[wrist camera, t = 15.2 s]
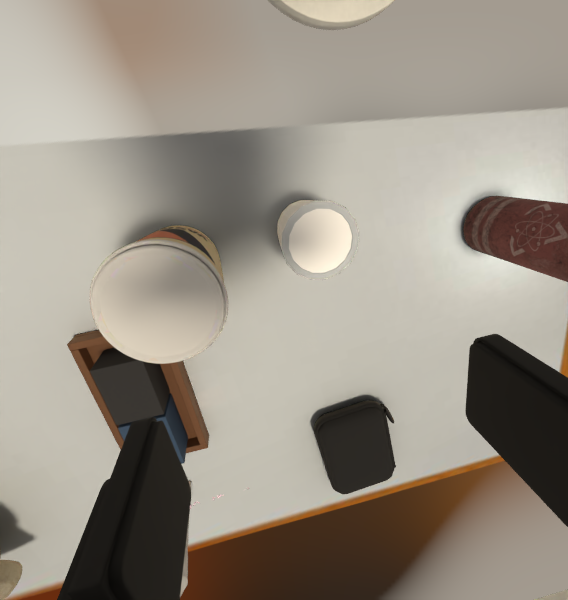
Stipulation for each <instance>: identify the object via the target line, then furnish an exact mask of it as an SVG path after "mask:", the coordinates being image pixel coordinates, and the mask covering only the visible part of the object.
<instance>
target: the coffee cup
mask: <svg viewBox="0 0 568 600" xmlns="http://www.w3.org/2000/svg"><path fill="white" fill-rule="evenodd" d="M90 307H91V311H92V315H93V319H94V321H95V323H96V325H97V327H98V329H99V331H100V332H101V334H102V335H103V337H104V338H105V339H106V340H107V341H108V342H109V343H110V344H111V345H112V346H113V347H115V348H116V349H117V350H119V351H120V352H122V353H123V354H125V355H127V356H129V357H132V358H134V359H137V360H140V361H144V362H148V363H156V364H166V363H175V362H180V361H184V360H186V359H189V358H191V357H193V356H195V355H197V354H199V353H200V352H202V351H204V350H205V349H206V348H208V347H209V346H210V345H211V344H212V343H213V342H214V341H215V340H216V339H217V337H218V336H219V334H220V333H221V331H222V329H223V327H224V325H225V322H226V318H227V314H228V296H227V291H226V287H225V285H224V279H223V273H222V268H221V262H220V258H219V254H218V251H217V249H216V247H215V245H214V244H213V242H212V241H211V240H210V239H209V238H208V237H207V236H206V235H205V234H203V233H202V232H200V231H199V230H197V229H194V228H191V227H188V226H178V225H177V226H169V227H165V228H162V229H160V230H158V231H155V232H154V233H152V234H150V235H148V236H146V237H144V238H142V239H140V240H138V241H136V242H134V243H131V244H128V245H126V246H124V247H122V248H120V249H118V250H116V251H115V252H113V253H112V254H111V255H110V256H108V257H107V258H106V259H105V260H104V261H103V262H102V264H101V265H100V267H99V268H98V269H97V271H96V273H95V275H94V277H93V280H92V283H91V287H90Z"/></svg>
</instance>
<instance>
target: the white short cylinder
mask: <svg viewBox="0 0 568 600" xmlns="http://www.w3.org/2000/svg"><path fill="white" fill-rule="evenodd" d="M277 234H278V238H279V242H280V246H281V250H282V253H283V255H284V258H285V261H286V263H287V265H288V266H289V267H290V268H291V269H292V270H293V271H294V272H295V273H296V274H297V275H300V276H303V277H305V278H308V279H310V280H320V279H327V278H330V277H332V276H335V275H337V274H339V273H340V272H341V271H343V270H344V269H345V268H346V267H347V266H348V265H349V264H350V263H351V261H352V259H353V257H354V255H355V253H356V252H357V250H358V242H359V231H358V227H357V224H356V220H355V218H354V217H353V216H352V215H351V213H350V212H349V211H348V210H347V209H346V207H343V206H341V205H339V204H337V203H335V202H333V201H317V200H299V201H297V202H294V203H292V204H290V205H289V206H288V207H287V208H286V209H285V210H284V211H283V212H282V213H281V215H280V218H279V220H278V225H277Z"/></svg>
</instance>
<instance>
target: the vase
mask: <svg viewBox="0 0 568 600" xmlns="http://www.w3.org/2000/svg"><path fill="white" fill-rule="evenodd" d="M0 556H1V550H0ZM21 574H22V565H21V564H20V563H19V562H17V561H11V560H0V600H4V599H5V598H6V597H7V596H8V595H9V594H10V593H11V592H12V591H13V589H14V588H15V586H16V585H17V583H18V581H19V579H20V577H21Z"/></svg>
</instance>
